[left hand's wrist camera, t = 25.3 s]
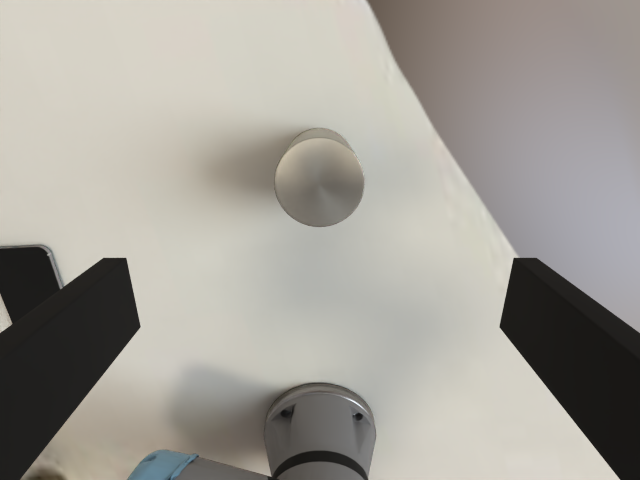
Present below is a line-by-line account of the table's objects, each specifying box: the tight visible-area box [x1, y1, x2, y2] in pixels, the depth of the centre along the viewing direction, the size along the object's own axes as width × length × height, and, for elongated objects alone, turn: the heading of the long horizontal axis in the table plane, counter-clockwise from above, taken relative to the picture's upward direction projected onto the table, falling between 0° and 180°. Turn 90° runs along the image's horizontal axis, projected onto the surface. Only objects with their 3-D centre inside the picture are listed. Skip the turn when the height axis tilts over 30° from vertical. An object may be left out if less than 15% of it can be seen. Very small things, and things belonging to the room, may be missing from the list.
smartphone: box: [0, 245, 63, 324], centre depth 44 cm, size 7×1×15 cm
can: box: [274, 128, 365, 227], centre depth 34 cm, size 7×7×10 cm
